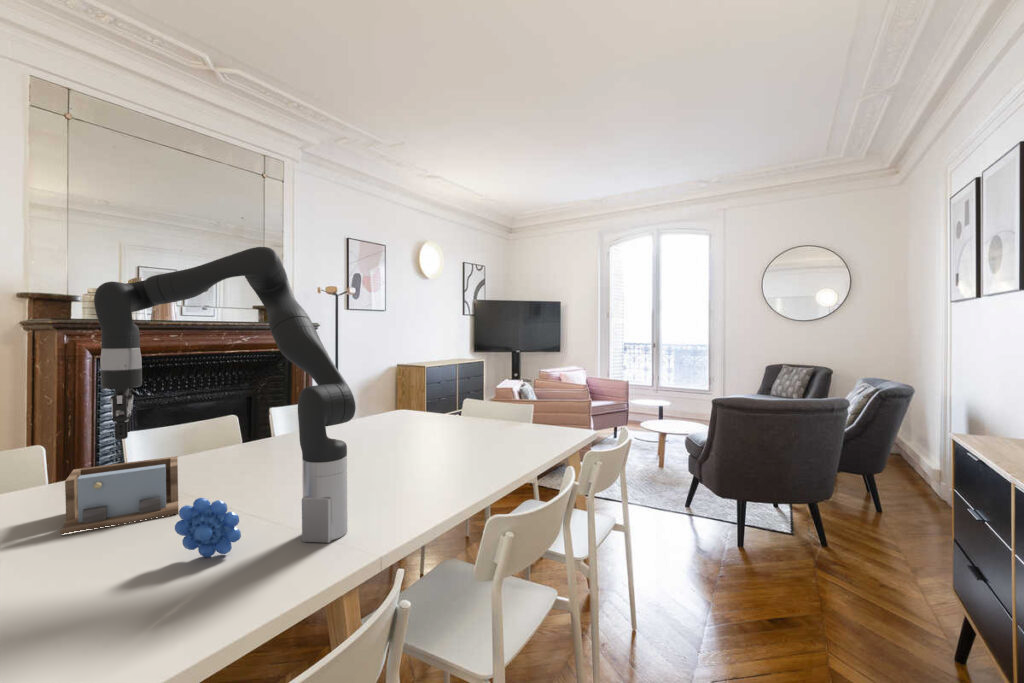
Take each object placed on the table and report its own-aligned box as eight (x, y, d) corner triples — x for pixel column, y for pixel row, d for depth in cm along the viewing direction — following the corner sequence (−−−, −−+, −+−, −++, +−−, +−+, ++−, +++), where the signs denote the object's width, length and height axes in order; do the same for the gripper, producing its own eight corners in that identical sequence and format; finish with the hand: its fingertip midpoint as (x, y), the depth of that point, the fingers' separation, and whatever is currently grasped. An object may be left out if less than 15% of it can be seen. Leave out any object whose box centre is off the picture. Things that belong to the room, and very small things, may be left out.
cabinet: (178, 514, 116) (177, 471, 115) (61, 536, 104) (59, 488, 103) (178, 494, 130) (177, 456, 129) (74, 511, 117) (73, 469, 117)
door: (166, 508, 116) (165, 467, 115) (77, 524, 106) (76, 479, 106) (166, 503, 119) (165, 464, 118) (80, 518, 109) (79, 475, 109)
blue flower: (165, 571, 89) (164, 508, 89) (180, 554, 96) (179, 495, 95) (234, 563, 92) (233, 502, 92) (244, 547, 98) (243, 490, 98)
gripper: (140, 368, 108) (141, 439, 109) (143, 364, 120) (144, 428, 120) (96, 370, 104) (98, 443, 104) (104, 366, 115) (105, 432, 116)
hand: (123, 435), depth 112 cm, fingers open, 8 cm apart
